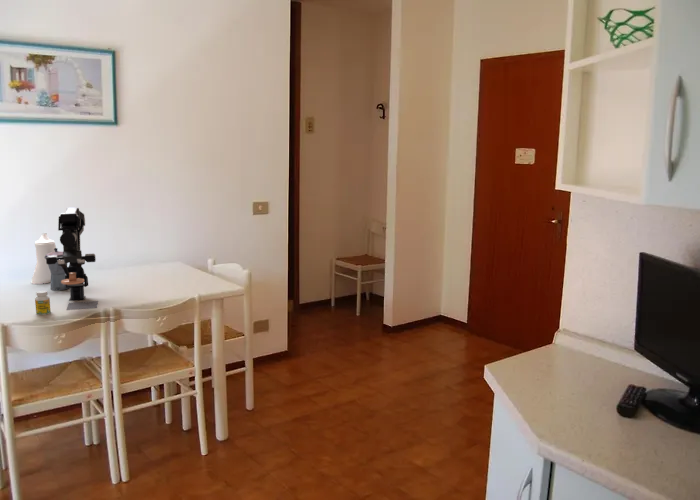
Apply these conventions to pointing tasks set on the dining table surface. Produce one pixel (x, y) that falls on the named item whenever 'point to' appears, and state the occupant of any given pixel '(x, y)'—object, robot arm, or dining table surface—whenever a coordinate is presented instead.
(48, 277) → the white bottle
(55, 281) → the moka pot
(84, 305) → the mat
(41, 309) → the supplement bottle
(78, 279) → the lid
